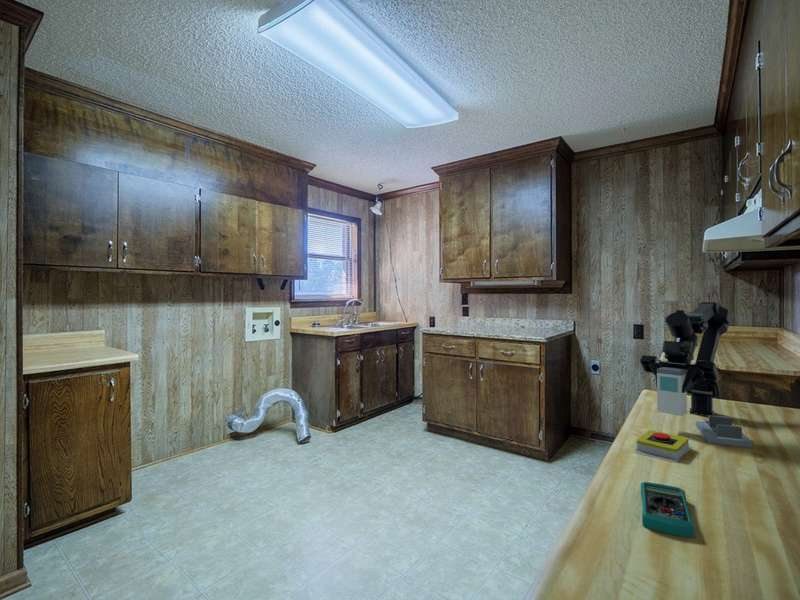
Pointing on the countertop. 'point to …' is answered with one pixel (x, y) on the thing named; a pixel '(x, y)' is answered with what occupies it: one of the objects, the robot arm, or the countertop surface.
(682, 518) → the digital multimeter
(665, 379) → the block
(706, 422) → the steel rail
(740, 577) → the countertop surface
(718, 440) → the rail board
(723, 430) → the end clamps
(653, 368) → the robot arm
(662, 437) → the emergency button
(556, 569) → the countertop surface
